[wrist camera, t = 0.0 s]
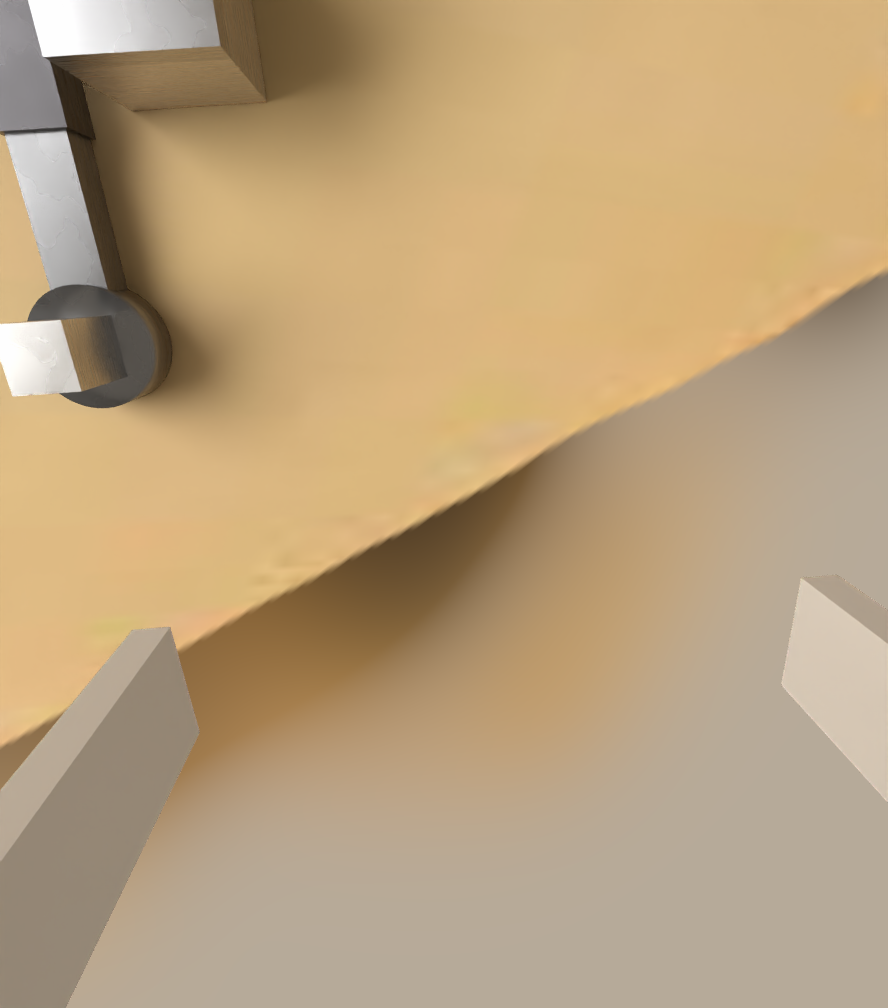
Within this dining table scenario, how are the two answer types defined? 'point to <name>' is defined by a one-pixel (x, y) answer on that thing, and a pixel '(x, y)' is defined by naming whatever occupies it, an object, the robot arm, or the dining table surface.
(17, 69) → the ratchet
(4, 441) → the dining table surface
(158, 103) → the brushed metal cube
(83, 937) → the robot arm
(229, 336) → the dining table surface
